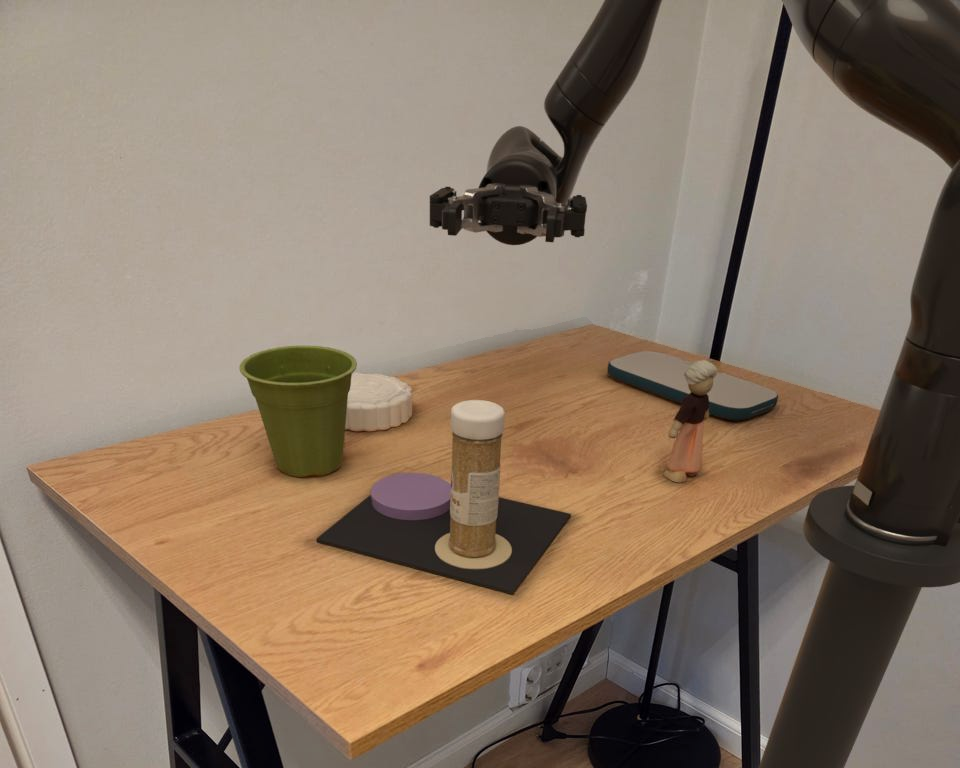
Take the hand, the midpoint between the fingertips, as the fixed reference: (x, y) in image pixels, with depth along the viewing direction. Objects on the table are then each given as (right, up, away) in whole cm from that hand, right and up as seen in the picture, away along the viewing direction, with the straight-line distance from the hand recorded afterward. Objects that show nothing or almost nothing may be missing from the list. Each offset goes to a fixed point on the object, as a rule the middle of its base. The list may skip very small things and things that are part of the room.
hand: (500, 225), depth 70 cm
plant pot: (-21, -16, +21) cm, 34 cm away
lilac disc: (-9, -21, +14) cm, 27 cm away
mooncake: (-16, -7, +33) cm, 38 cm away
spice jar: (-2, -27, +7) cm, 28 cm away
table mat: (-5, -25, +10) cm, 27 cm away
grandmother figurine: (+21, -17, +23) cm, 35 cm away
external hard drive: (+27, -1, +44) cm, 52 cm away
